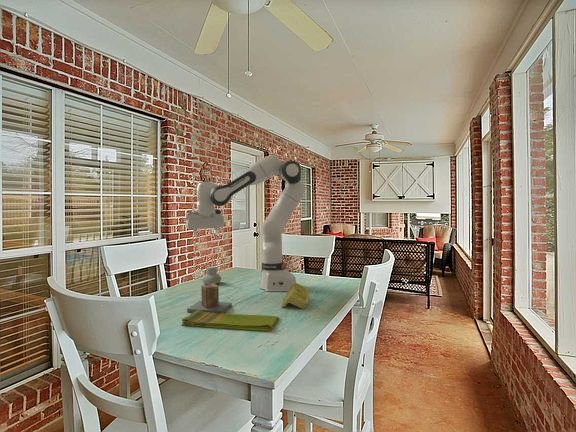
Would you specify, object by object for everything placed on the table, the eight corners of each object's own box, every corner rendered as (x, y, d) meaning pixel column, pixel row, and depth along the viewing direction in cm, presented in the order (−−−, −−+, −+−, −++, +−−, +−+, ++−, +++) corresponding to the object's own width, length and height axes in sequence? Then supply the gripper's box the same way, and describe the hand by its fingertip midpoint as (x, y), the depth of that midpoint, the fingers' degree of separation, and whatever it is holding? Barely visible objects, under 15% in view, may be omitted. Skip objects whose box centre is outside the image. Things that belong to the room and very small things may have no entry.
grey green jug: (215, 281, 204) (215, 264, 203) (223, 283, 198) (223, 266, 198) (199, 284, 196) (199, 267, 196) (207, 286, 190) (207, 269, 190)
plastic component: (307, 304, 149) (287, 294, 150) (300, 318, 150) (280, 308, 151) (309, 289, 169) (292, 280, 169) (303, 302, 170) (285, 293, 170)
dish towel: (198, 314, 145) (198, 307, 145) (279, 319, 138) (279, 311, 138) (180, 327, 130) (180, 319, 130) (270, 334, 123) (270, 325, 123)
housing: (213, 302, 154) (213, 283, 154) (218, 306, 150) (218, 286, 149) (201, 305, 151) (201, 285, 151) (206, 308, 146) (205, 288, 146)
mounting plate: (231, 305, 155) (231, 292, 155) (222, 314, 143) (221, 299, 143) (199, 304, 158) (199, 290, 158) (187, 312, 146) (186, 297, 146)
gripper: (187, 211, 173) (188, 238, 173) (225, 211, 184) (225, 236, 184) (184, 211, 178) (184, 237, 178) (220, 210, 189) (221, 235, 190)
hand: (205, 236), depth 181 cm, fingers open, 8 cm apart
